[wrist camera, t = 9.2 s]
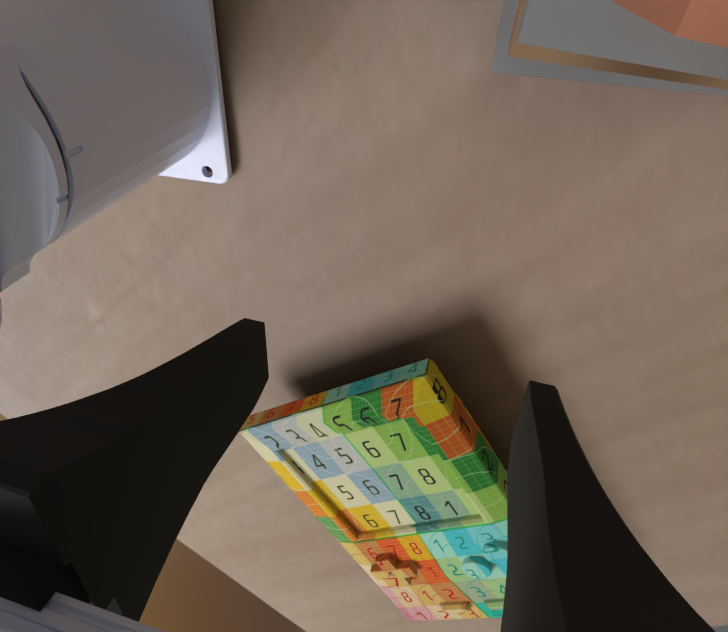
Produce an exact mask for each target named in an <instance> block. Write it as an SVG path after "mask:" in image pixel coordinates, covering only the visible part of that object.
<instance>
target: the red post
mask: <svg viewBox="0 0 728 632" xmlns="http://www.w3.org/2000/svg"><path fill="white" fill-rule="evenodd" d="M613 2H614V3H616V4H618V5H619V6H621V7H623V8H625V9H627V10H628V11H630V12H632V13H634V14H636V15H638V16H639V17H641V18H643V19H645V20H647V21H648V22H650V23H652V24H654V25H656V26H657V27H659V28H661V29H663V30H665V31H666V32H668V33H670V34H672V35H674V36H677V37H681V38H685V39H690V40H694V41H699V42H703V43H708V44H712V45H717V46H721V47H725V48H728V0H614V1H613Z"/></svg>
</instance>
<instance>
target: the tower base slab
mask: <svg viewBox="0 0 728 632" xmlns="http://www.w3.org/2000/svg"><path fill="white" fill-rule="evenodd" d="M519 1H520V0H504V3H503V8H502V14H501V19H500V25H499V31H498V36H497V42H496V47H495V53H494V58H493V64H492V70H491V72H492V73H502V74H513V75H523V76H533V77H543V78H553V79H563V80H573V81H584V82H594V83H604V84H614V85H624V86H634V87H644V88H654V89H665V90H675V91H685V92H695V93H705V94H715V95H725V96H728V90H726V89H719V88H713V87H706V86H700V85H693V84H686V83H680V82H673V81H666V80H660V79H653V78H647V77H640V76H633V75H627V74H620V73H614V72H607V71H600V70H594V69H587V68H581V67H574V66H567V65H561V64H554V63H548V62H541V61H534V60H528V59H521V58H514V57H508V48H509V42H510V38H511V34H512V30H513V26H514V22H515V17H516V13H517V9H518V5H519Z"/></svg>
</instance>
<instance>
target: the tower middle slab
mask: <svg viewBox="0 0 728 632" xmlns="http://www.w3.org/2000/svg"><path fill="white" fill-rule="evenodd" d="M525 1H526V0H520V1H519V5H518V9H517V13H516V17H515V22H514V26H513V30H512V34H511V38H510V42H509V48H508V57H514V58H521V59H528V60H534V61H541V62H548V63H554V64H561V65H567V66H574V67H581V68H587V69H594V70H600V71H607V72H614V73H620V74H627V75H633V76H640V77H647V78H653V79H660V80H666V81H673V82H680V83H686V84H693V85H700V86H706V87H713V88H719V89H726V90H728V80H724V79H718V78H713V77H707V76H702V75H696V74H690V73H685V72H679V71H673V70H668V69H662V68H657V67H651V66H645V65H640V64H634V63H629V62H623V61H617V60H612V59H606V58H601V57H595V56H589V55H584V54H578V53H572V52H567V51H561V50H556V49H550V48H544V47H539V46H533V45H528V44H522V43H517V30H518V26H519V23H520V19H521V15H522V12H523V8H524V4H525Z"/></svg>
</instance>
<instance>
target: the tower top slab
mask: <svg viewBox="0 0 728 632" xmlns="http://www.w3.org/2000/svg"><path fill="white" fill-rule="evenodd" d="M613 1H614V0H526V1H525V4H524V8H523V12H522V15H521V19H520V23H519V26H518V30H517V43H522V44H528V45H533V46H539V47H544V48H550V49H556V50H561V51H567V52H572V53H578V54H584V55H589V56H595V57H601V58H606V59H612V60H617V61H623V62H629V63H634V64H640V65H645V66H651V67H657V68H662V69H668V70H673V71H679V72H685V73H690V74H696V75H702V76H707V77H713V78H718V79H724V80H728V48H725V47H721V46H717V45H712V44H708V43H703V42H699V41H694V40H690V39H685V38H681V37H677V36H674V35H672V34H670V33H668V32H666V31H665V30H663V29H661V28H659V27H657V26H656V25H654V24H652V23H650V22H648V21H647V20H645V19H643V18H641V17H639V16H638V15H636V14H634V13H632V12H630V11H628V10H627V9H625V8H623V7H621V6H619V5H618V4H616V3H614V2H613Z"/></svg>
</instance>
